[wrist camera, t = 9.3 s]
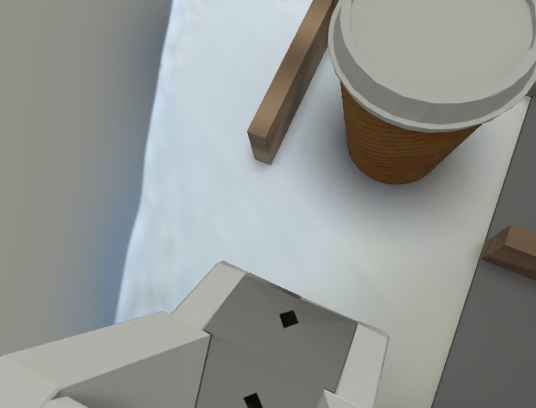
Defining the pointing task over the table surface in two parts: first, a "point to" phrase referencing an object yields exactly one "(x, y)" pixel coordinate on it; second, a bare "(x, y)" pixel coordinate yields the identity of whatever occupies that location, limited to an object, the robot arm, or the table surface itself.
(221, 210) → the table surface
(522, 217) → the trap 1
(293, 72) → the walnut corridor
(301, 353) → the robot arm
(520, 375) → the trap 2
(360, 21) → the disposable coffee cup
